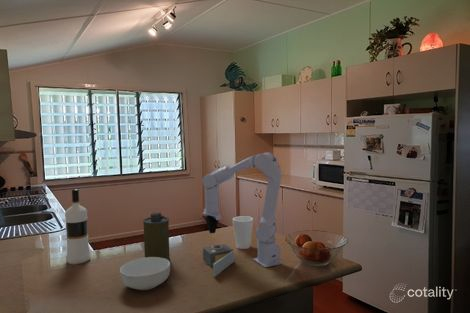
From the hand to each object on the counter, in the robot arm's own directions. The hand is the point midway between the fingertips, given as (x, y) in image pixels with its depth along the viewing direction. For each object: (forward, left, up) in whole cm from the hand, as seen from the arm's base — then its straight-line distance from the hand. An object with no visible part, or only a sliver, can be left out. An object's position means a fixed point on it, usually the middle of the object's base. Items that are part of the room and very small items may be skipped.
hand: (212, 232), depth 146 cm
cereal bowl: (-16, +32, -10) cm, 37 cm away
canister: (+4, +23, -10) cm, 25 cm away
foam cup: (+2, -16, -10) cm, 19 cm away
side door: (-17, +2, -9) cm, 19 cm away
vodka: (+20, +52, -10) cm, 57 cm away
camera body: (-8, +1, -9) cm, 12 cm away
